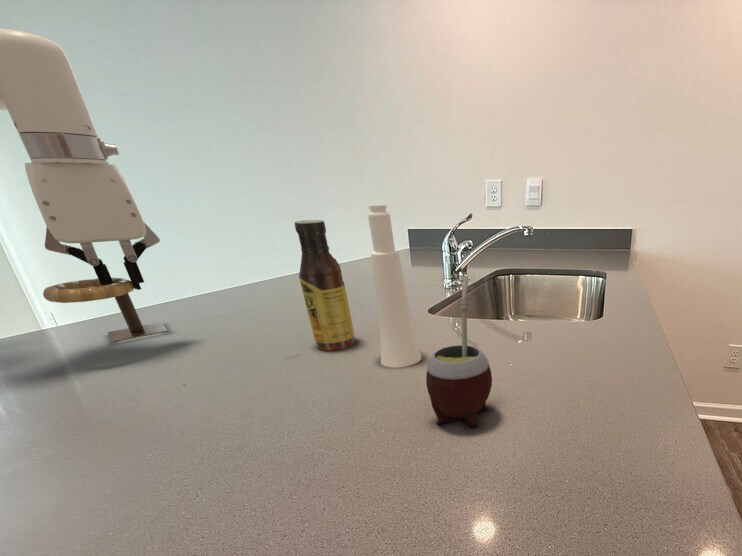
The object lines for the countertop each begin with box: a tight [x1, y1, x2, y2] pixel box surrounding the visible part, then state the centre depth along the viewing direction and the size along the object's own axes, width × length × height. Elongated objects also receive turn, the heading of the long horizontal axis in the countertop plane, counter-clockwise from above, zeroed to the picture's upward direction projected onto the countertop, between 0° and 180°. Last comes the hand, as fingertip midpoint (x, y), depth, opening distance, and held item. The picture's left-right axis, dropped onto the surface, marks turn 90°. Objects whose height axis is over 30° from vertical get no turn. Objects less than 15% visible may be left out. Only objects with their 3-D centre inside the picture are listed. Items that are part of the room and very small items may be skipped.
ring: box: [42, 277, 135, 304], centre depth 60 cm, size 10×10×2 cm
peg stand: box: [107, 293, 168, 344], centre depth 74 cm, size 8×8×10 cm
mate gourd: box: [425, 275, 493, 430], centre depth 44 cm, size 8×8×15 cm
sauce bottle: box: [294, 219, 356, 352], centre depth 64 cm, size 6×6×20 cm
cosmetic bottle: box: [367, 203, 422, 368], centre depth 57 cm, size 6×6×22 cm
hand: (125, 288), depth 62 cm, fingers closed on ring, 2 cm apart
